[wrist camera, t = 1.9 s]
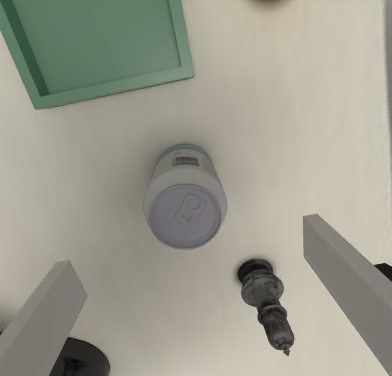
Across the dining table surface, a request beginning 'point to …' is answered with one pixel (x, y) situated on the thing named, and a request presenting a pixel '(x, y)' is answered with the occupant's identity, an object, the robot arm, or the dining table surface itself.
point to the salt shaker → (266, 301)
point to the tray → (94, 47)
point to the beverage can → (185, 198)
